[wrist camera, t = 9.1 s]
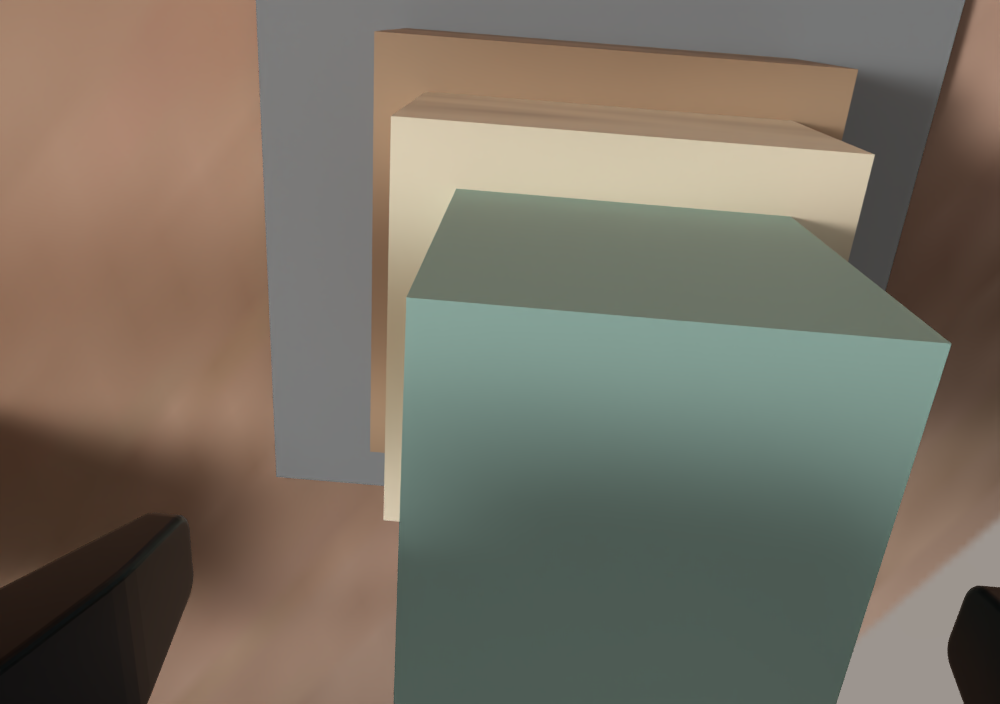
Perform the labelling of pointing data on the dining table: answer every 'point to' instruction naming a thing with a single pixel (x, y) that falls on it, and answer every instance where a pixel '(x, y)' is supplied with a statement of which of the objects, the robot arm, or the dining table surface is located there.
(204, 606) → the dining table surface
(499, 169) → the birch block
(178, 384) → the dining table surface
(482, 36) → the walnut slab
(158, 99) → the dining table surface
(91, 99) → the dining table surface
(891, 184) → the slate mat
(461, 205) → the sage cube
